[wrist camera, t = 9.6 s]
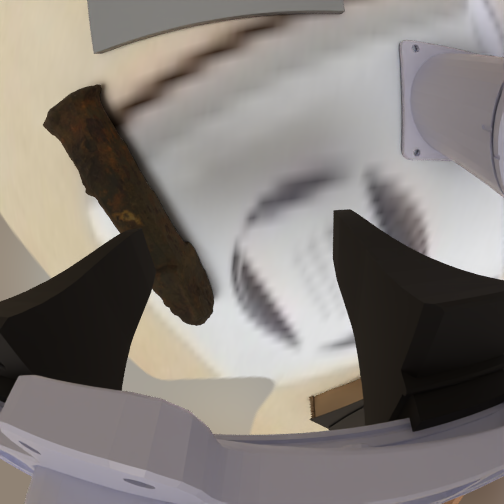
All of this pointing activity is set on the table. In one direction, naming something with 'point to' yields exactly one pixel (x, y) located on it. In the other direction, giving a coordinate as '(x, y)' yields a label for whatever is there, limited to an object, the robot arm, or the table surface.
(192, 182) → the table surface
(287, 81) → the table surface
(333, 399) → the dark brown book
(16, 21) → the table surface
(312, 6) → the fitting board
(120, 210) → the brown wooden stick
